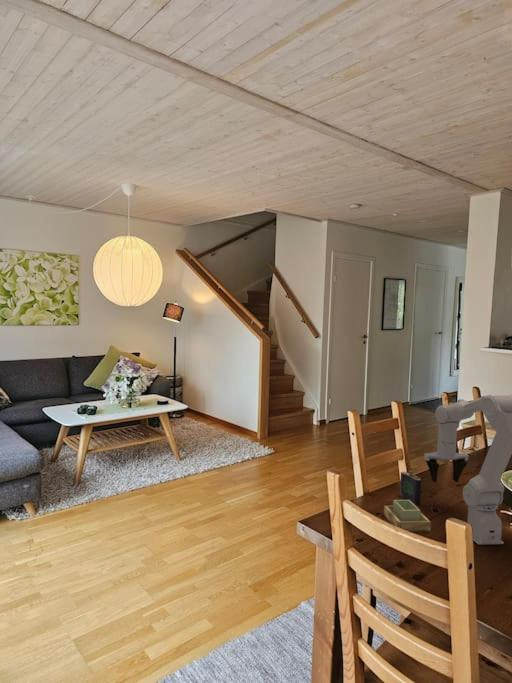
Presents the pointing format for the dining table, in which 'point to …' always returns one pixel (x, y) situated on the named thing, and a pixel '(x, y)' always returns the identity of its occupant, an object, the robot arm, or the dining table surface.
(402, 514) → the small crate
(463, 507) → the dining table surface
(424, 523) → the beige flat rectangular tray
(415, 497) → the dark blue box
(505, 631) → the dining table surface
